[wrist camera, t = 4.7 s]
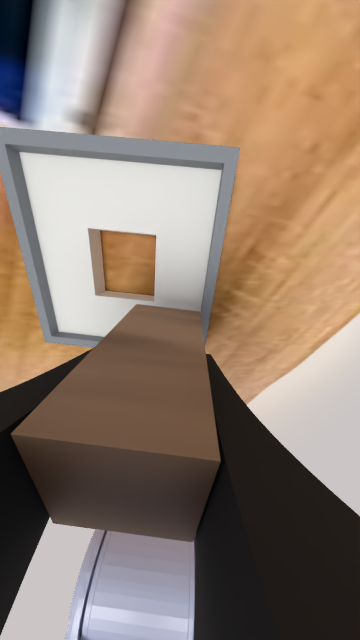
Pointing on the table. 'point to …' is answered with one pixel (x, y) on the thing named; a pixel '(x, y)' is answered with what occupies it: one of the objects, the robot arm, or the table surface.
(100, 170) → the box
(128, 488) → the peg
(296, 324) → the table surface
